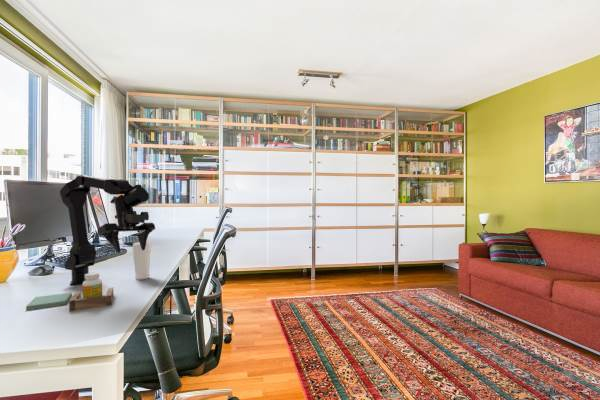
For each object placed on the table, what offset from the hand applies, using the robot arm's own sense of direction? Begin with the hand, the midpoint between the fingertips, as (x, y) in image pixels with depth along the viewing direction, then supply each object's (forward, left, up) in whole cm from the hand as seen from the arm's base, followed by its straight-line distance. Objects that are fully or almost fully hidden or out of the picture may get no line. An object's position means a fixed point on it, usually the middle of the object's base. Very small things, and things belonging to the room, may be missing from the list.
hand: (131, 251), depth 115 cm
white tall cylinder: (-18, +5, -15) cm, 24 cm away
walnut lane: (+7, -12, -15) cm, 20 cm away
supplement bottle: (+7, -12, -15) cm, 20 cm away
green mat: (-2, -24, -15) cm, 28 cm away
